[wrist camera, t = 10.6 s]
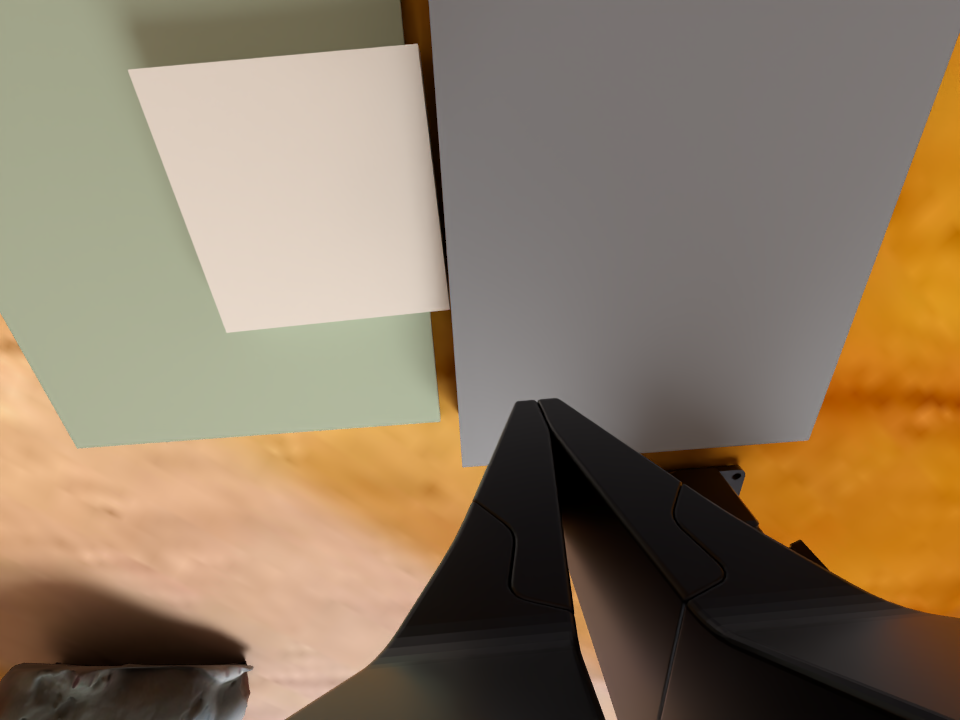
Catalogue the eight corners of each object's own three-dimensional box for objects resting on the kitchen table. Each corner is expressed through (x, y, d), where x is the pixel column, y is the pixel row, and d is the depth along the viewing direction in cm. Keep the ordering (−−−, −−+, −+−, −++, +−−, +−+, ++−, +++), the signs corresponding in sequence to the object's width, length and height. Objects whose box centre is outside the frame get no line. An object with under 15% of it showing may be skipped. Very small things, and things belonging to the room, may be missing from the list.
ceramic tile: (449, 292, 21) (449, 309, 19) (245, 314, 20) (226, 333, 19) (420, 51, 16) (417, 43, 15) (161, 74, 16) (127, 69, 14)
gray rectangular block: (756, 394, 25) (808, 440, 21) (459, 415, 24) (462, 467, 21) (927, -200, 15) (1082, -300, 11) (415, -193, 14) (407, -298, 10)
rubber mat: (440, 417, 24) (440, 421, 24) (82, 443, 23) (76, 448, 23) (382, -192, 14) (380, -200, 13) (-266, -183, 13) (-286, -192, 13)
